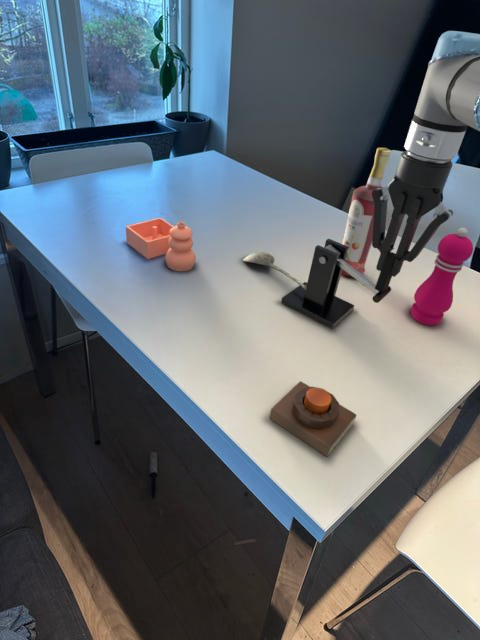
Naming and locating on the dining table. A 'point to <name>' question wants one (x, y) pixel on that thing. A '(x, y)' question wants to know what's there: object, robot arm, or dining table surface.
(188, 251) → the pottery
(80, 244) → the dining table surface
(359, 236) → the liquor
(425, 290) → the pepper mill
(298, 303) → the lever bracket
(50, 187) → the dining table surface
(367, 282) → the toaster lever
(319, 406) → the button
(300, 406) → the button box
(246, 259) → the soupspoon
